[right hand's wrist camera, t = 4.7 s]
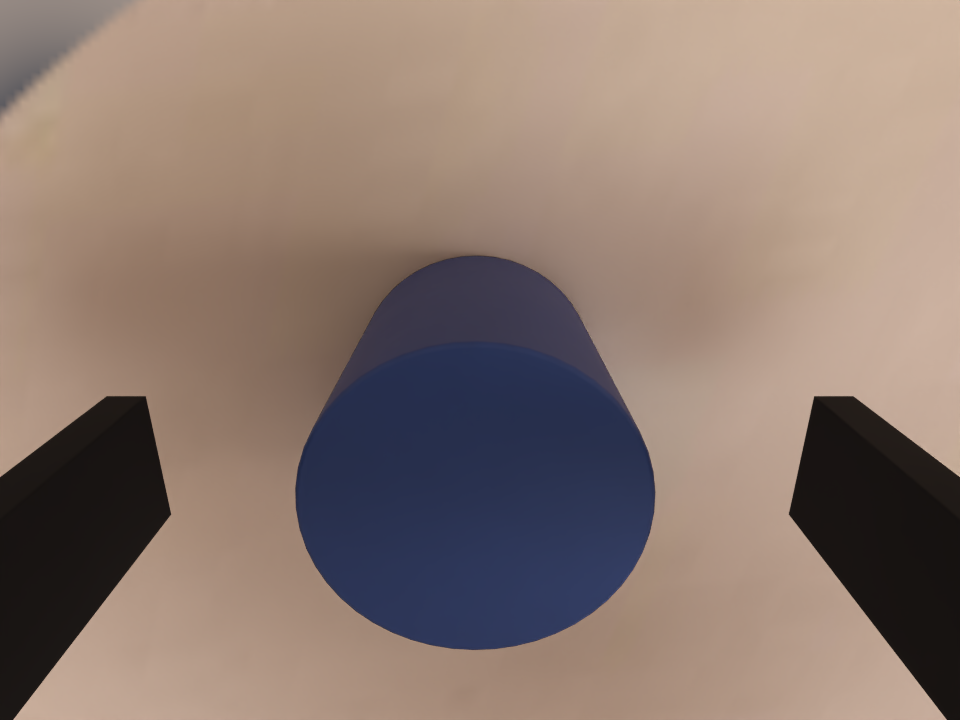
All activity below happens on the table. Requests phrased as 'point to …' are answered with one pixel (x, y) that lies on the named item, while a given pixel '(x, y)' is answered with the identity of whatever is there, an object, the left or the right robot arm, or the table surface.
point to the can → (475, 464)
